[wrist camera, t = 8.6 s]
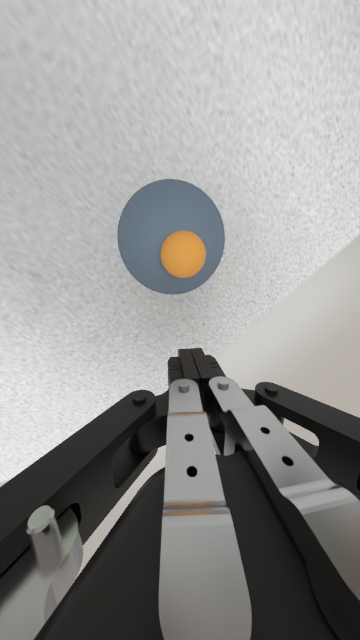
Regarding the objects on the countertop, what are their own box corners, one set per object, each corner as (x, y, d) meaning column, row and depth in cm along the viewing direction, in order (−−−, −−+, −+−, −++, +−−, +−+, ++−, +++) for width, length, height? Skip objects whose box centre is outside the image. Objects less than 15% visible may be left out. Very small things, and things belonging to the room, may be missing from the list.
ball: (167, 217, 21) (165, 231, 26) (155, 270, 22) (156, 273, 27) (216, 232, 22) (204, 243, 27) (203, 282, 22) (194, 283, 28)
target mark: (123, 294, 28) (122, 295, 27) (112, 178, 24) (112, 177, 24) (221, 292, 29) (221, 292, 29) (226, 181, 25) (227, 180, 25)
